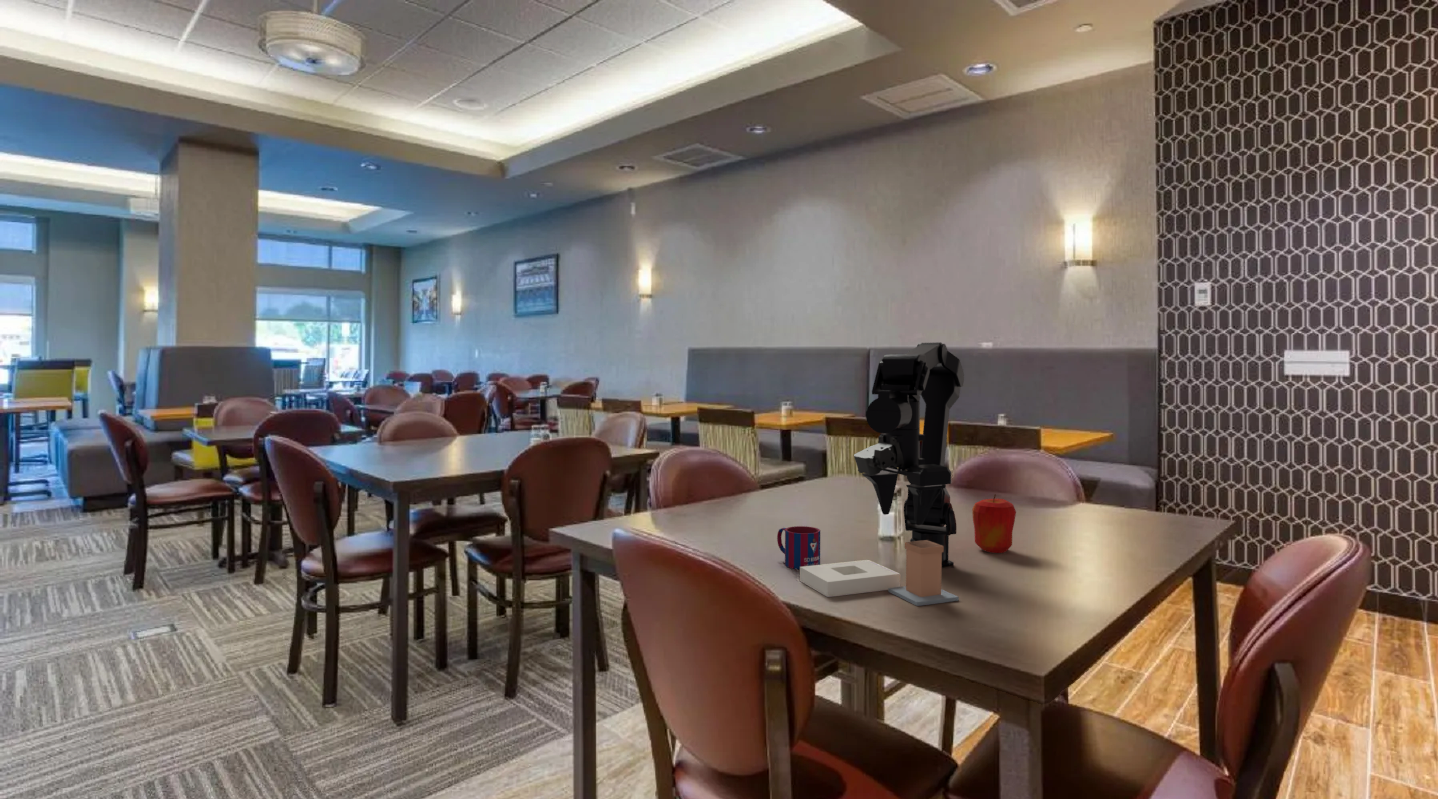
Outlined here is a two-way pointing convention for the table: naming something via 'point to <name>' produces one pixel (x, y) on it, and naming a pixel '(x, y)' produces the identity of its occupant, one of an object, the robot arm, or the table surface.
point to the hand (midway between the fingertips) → (901, 519)
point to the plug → (923, 568)
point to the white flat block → (849, 577)
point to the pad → (925, 600)
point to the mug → (800, 546)
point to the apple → (993, 524)
